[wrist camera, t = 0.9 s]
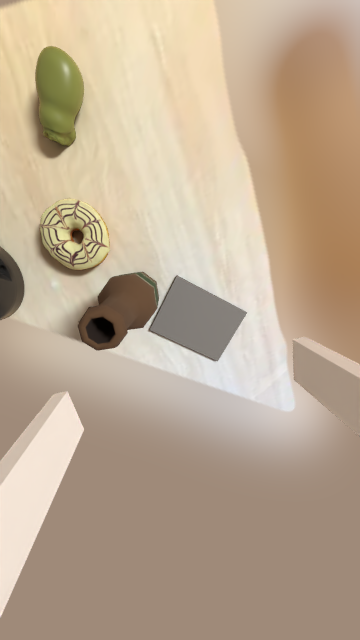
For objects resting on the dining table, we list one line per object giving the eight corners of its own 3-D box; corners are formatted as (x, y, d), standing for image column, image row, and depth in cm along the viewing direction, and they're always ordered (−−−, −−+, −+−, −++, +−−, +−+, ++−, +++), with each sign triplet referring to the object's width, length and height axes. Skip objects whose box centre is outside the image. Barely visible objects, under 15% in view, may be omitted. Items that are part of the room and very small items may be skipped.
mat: (149, 329, 40) (149, 330, 40) (176, 275, 38) (177, 275, 37) (217, 360, 43) (217, 361, 43) (246, 312, 41) (247, 312, 40)
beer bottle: (123, 265, 37) (50, 265, 13) (164, 276, 38) (162, 294, 14) (115, 306, 38) (40, 366, 15) (154, 315, 39) (140, 385, 16)
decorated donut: (76, 279, 37) (66, 281, 33) (36, 224, 34) (21, 219, 30) (123, 251, 36) (119, 249, 32) (87, 192, 33) (77, 183, 30)
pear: (77, 49, 24) (64, 145, 28) (94, 79, 29) (80, 157, 33) (29, 22, 23) (22, 125, 27) (54, 57, 28) (45, 140, 32)
